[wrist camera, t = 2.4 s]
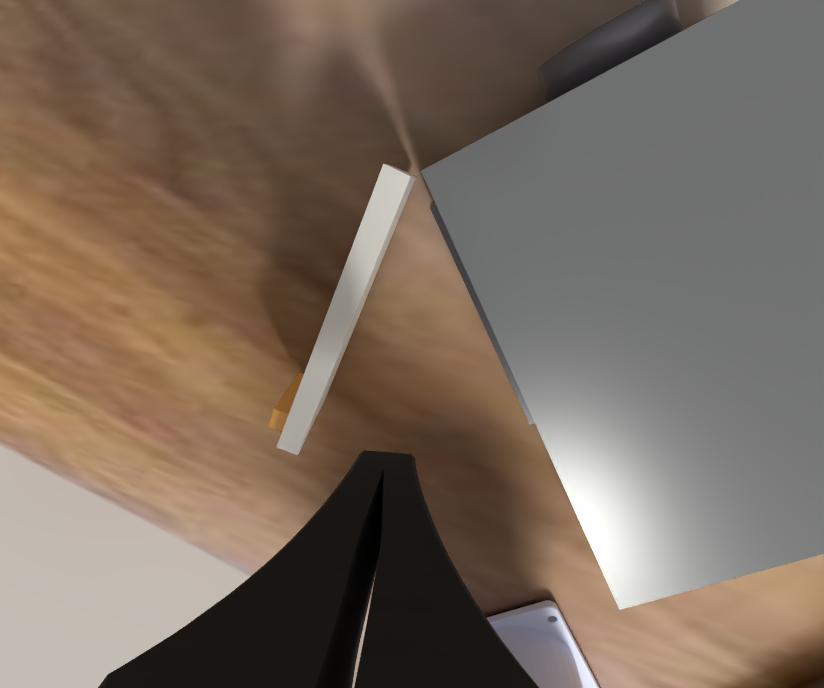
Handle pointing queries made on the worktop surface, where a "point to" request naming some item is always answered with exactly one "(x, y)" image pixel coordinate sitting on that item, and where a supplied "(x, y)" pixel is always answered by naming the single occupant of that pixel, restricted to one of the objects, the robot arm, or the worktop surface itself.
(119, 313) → the worktop surface
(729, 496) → the camera housing
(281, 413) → the door
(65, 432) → the worktop surface
